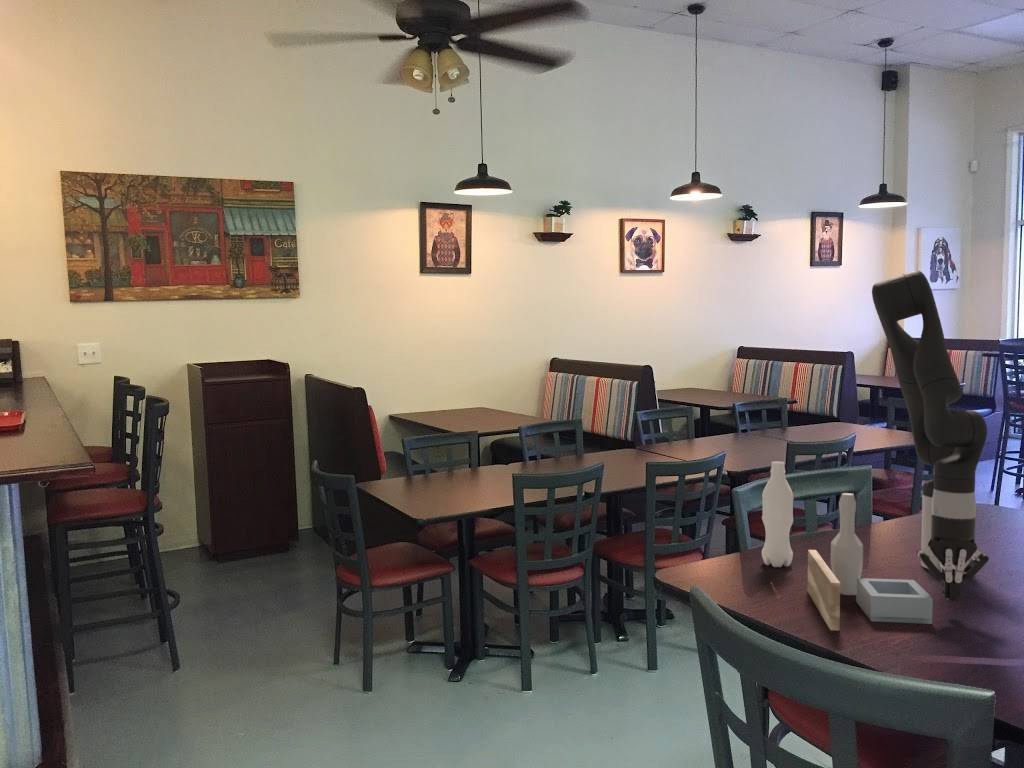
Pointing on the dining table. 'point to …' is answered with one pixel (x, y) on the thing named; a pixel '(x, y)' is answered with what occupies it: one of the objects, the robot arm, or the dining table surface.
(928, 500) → the robot arm
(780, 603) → the dining table surface
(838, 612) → the tan wooden board
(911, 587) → the holder
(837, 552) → the low poly bottle
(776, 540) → the water bottle
